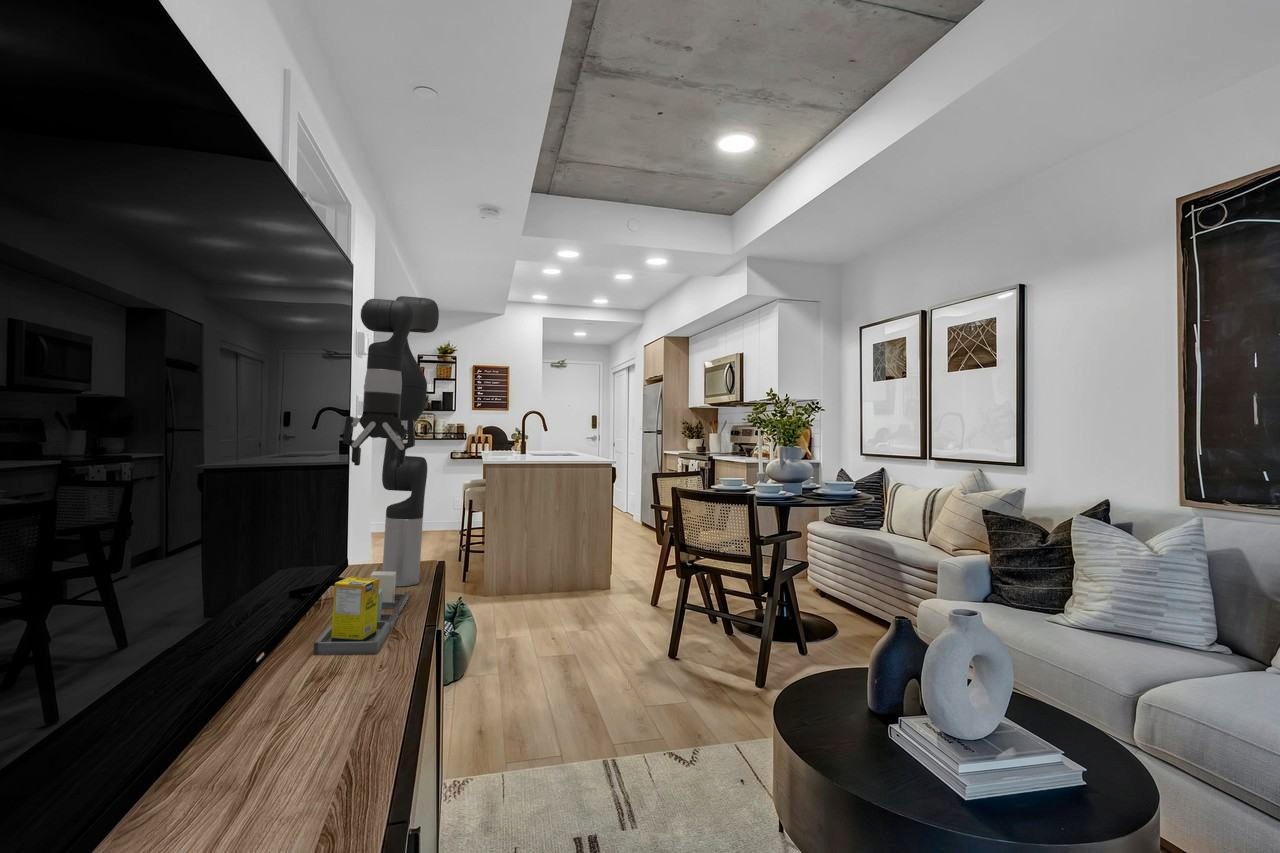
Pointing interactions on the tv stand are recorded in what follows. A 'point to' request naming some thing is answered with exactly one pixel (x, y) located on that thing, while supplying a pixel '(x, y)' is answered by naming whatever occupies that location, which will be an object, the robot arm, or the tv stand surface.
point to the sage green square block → (379, 604)
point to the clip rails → (397, 606)
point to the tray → (368, 647)
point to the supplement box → (355, 609)
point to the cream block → (386, 584)
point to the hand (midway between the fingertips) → (378, 466)
